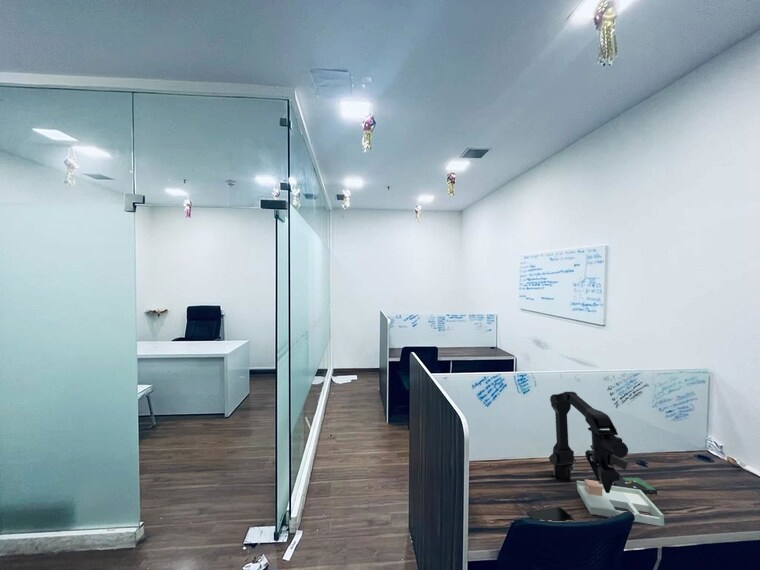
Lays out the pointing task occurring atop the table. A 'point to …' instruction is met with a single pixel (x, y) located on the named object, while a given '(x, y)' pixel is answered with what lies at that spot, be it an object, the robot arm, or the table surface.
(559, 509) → the smartphone
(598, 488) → the terracotta block
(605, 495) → the box
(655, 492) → the disk drive
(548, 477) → the table surface
